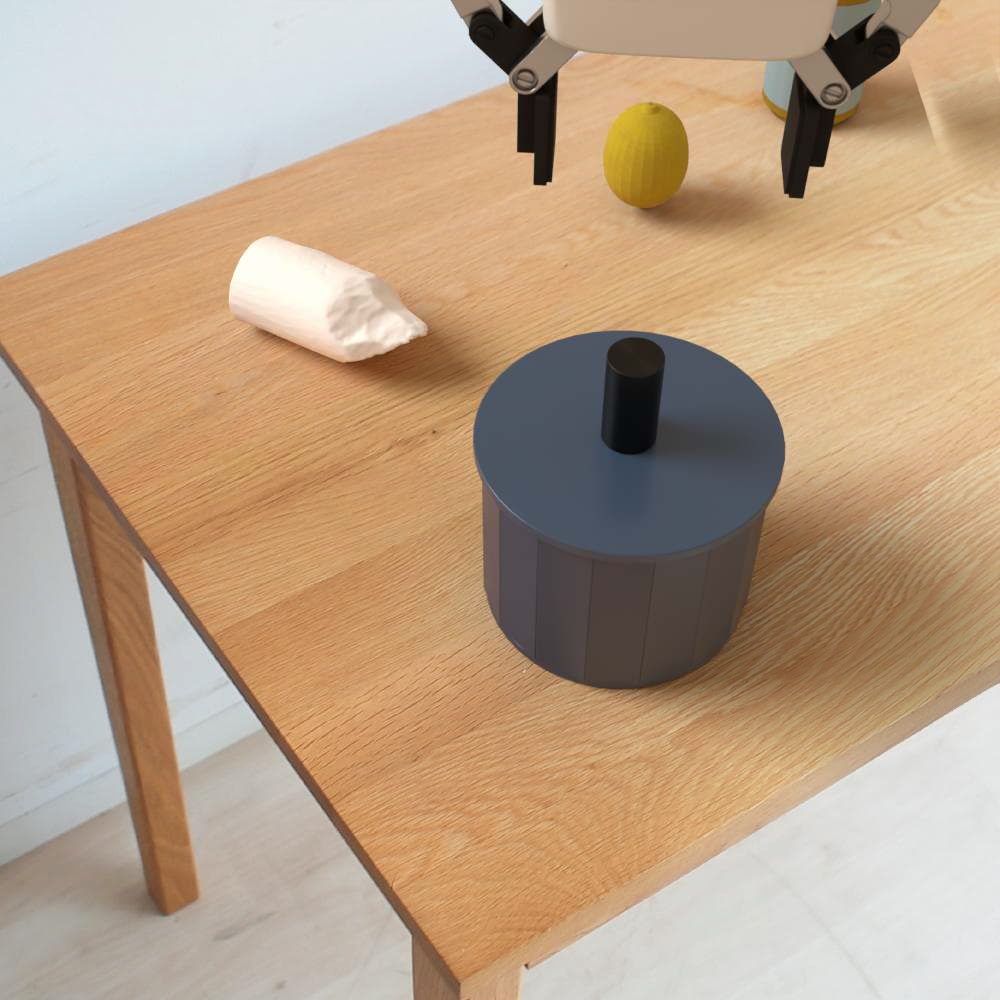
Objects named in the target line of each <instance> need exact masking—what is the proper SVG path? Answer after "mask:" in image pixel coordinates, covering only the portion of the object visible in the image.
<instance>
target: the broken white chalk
mask: <svg viewBox="0 0 1000 1000" xmlns="http://www.w3.org/2000/svg"><path fill="white" fill-rule="evenodd" d="M228 305H229V309H230V313H231V315H232V316H233V317H234V319H236V320H237V321H239V322H242V323H245V324H248V325H250V326H251V327H255V328H258V329H260V330H263V331H265V332H267V333H269V334H273V335H275V336H277V337H279V338H282V339H283V340H284V339H285V340H286V341H289V342H291V343H294V344H296V345H299V346H301V347H303V348H305V349H308V350H310V351H312V352H314V353H317V354H319V355H322V356H324V357H326V358H329V359H332V360H334V361H337V362H340V363H349V362H351V363H352V362H353V363H354V362H358V361H364V360H366V359H368V358H369V359H370V358H373V357H375V356H376V355H385V354H386V353H387V352H391V351H393V350H395V349H396V348H399V347H400V346H401V345H406V344H408V343H410V340H414V339H417V338H418V337H425V336H427V335H428V331H429V328H428V325H427V323H426V322H424V321H423V320H422V319H421V318H420V317H419V316H417V315H415V314H414V313H413V312H411V311H410V310H409V309H408V308H407V306H406V305H405V303H403V301H402V299H401V297H400V294H399V293H398V292H397V290H396V289H395V288H394V286H392V284H391V283H389V282H388V281H386V279H384V278H383V277H381V276H379V275H377V274H375V273H373V272H371V271H368V270H365V269H363V268H361V267H358V266H356V265H354V264H350V263H348V262H345V261H343V260H341V259H338V258H337V257H334V256H333V255H330V254H329V253H327V252H324V251H322V250H319V249H316V248H311V247H309V246H305V245H300V244H297V243H295V242H293V241H290V240H287V239H284V238H282V237H279V236H275V235H267V236H263V237H260V238H259V239H256V240H255V241H253V242H252V243H251V244H250V245H249V246H248V248H247V249H246V250H244V253H243V254H242V256H241V257H240V259H239V261H238V263H237V265H236V267H235V270H234V272H233V274H232V278H231V280H230V284H229V293H228Z"/></svg>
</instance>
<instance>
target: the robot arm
mask: <svg viewBox="0 0 1000 1000" xmlns="http://www.w3.org/2000/svg"><path fill="white" fill-rule="evenodd" d="M837 1H838V0H541V3H542V5H541V6H540V7H539V8H538V9H537V10H536V12H535V13H533V14H532V15H531V17H529V18H528V20H526V21H524V20H523V19H522V18H520V17H519V15H517V13H515V12H514V10H512V9H511V8H510V7H509V6H508V5H507V4H506V3H505V2H504V1H503V0H450V2H451V4H452V5H453V7H454V9H455V10H456V13H457V14H458V16H459V18H460V19H461V20H463V22H464V23H465V25H466V27H467V30H468V37H469V39H470V40H471V42H472V43H473V44H474V45H475V46H476V47H477V48H478V49H479V50H480V51H481V52H482V53H483V54H484V55H486V56H487V57H488V58H489V59H490V61H492V62H493V64H495V65H496V66H497V67H498V68H499V69H501V71H503V72H504V74H506V75H507V76H508V84H509V86H510V87H511V89H512V90H513V91H514V92H516V93H517V112H516V113H517V114H516V115H517V116H516V117H517V119H516V120H517V123H516V125H517V126H516V152H517V153H520V154H533V180H532V181H533V183H532V185H533V186H540V187H541V186H542V187H543V186H544V187H547V185H548V183H553V174H554V163H555V151H556V140H557V139H556V137H557V115H558V114H557V112H558V90H559V89H558V88H559V70H561V68H563V67H564V66H565V65H566V64H567V63H568V62H569V61H570V60H571V59H572V58H573V57H574V56H575V55H576V54H578V52H583V53H590V54H599V55H600V54H601V55H612V56H613V55H617V56H633V57H652V58H673V59H674V58H675V59H694V60H695V59H697V60H721V61H743V62H744V61H747V62H766V61H785V60H787V61H788V62H789V64H790V65H791V66H792V68H793V69H794V70H795V73H794V78H793V83H792V89H791V94H790V100H789V106H788V111H787V117H786V122H785V121H784V122H785V123H784V129H783V134H782V140H781V145H780V163H781V176H782V186H783V187H782V189H783V194H784V195H788V198H789V199H804V197H805V193H806V192H805V191H806V188H807V187H806V186H807V182H808V176H809V172H810V168H825V165H826V162H827V158H828V157H827V156H828V151H829V147H830V142H831V139H832V133H833V129H834V128H833V127H834V125H833V123H834V119H835V114H836V109H837V108H840V107H842V106H843V105H845V104H846V103H847V102H848V100H849V99H850V96H851V91H852V90H853V89H855V88H856V87H857V86H859V85H860V84H862V83H863V82H864V83H865V82H866V81H868V80H869V79H871V78H872V77H873V76H875V75H877V74H878V73H880V72H881V71H882V70H884V69H885V68H887V67H888V66H889V65H891V64H892V63H893V62H895V61H896V60H897V59H898V58H899V56H900V54H901V48H902V47H903V45H905V43H906V42H907V40H908V39H912V37H913V36H914V35H915V34H916V32H917V31H919V29H920V28H921V27H922V25H923V24H924V23H925V22H926V21H927V19H928V18H929V17H930V16H931V15H932V14H933V12H934V11H935V10H936V9H937V8H938V6H939V5H940V3H941V0H882V2H881V4H880V5H879V6H880V8H879V9H878V10H877V12H875V13H873V14H871V15H869V16H868V17H866V18H865V19H864V20H862V21H861V22H859V23H858V24H857V25H855V26H854V27H852V28H851V29H850V30H848V31H847V32H846V33H844V34H843V35H841V36H840V37H839V38H838V37H837V36H836V35H835V33H834V32H833V30H832V29H831V28H832V24H833V20H834V16H835V11H836V6H837Z"/></svg>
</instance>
